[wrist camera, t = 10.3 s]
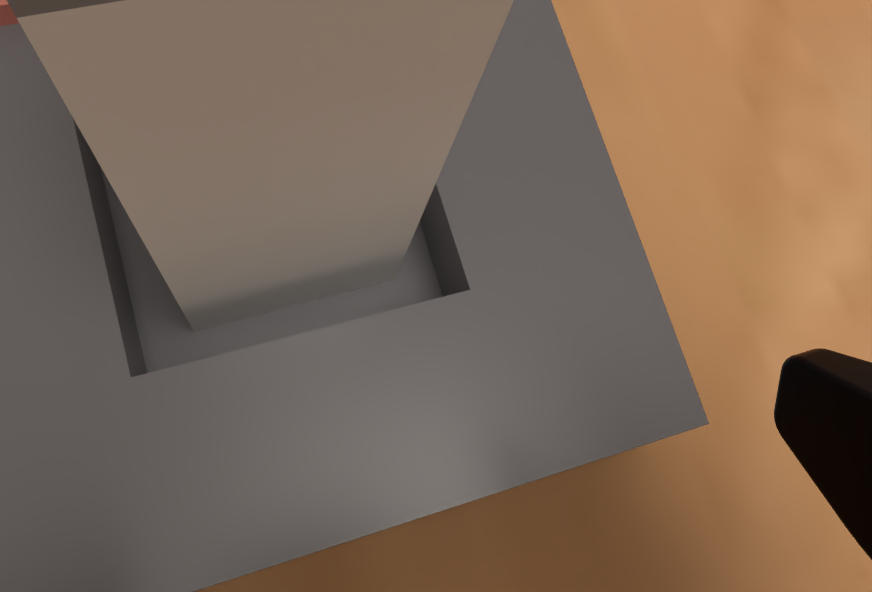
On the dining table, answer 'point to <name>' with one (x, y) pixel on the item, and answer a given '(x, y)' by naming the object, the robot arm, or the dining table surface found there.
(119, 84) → the grey rectangular block
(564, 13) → the dining table surface
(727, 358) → the dining table surface
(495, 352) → the grey slotted slab
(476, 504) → the dining table surface
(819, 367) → the robot arm
